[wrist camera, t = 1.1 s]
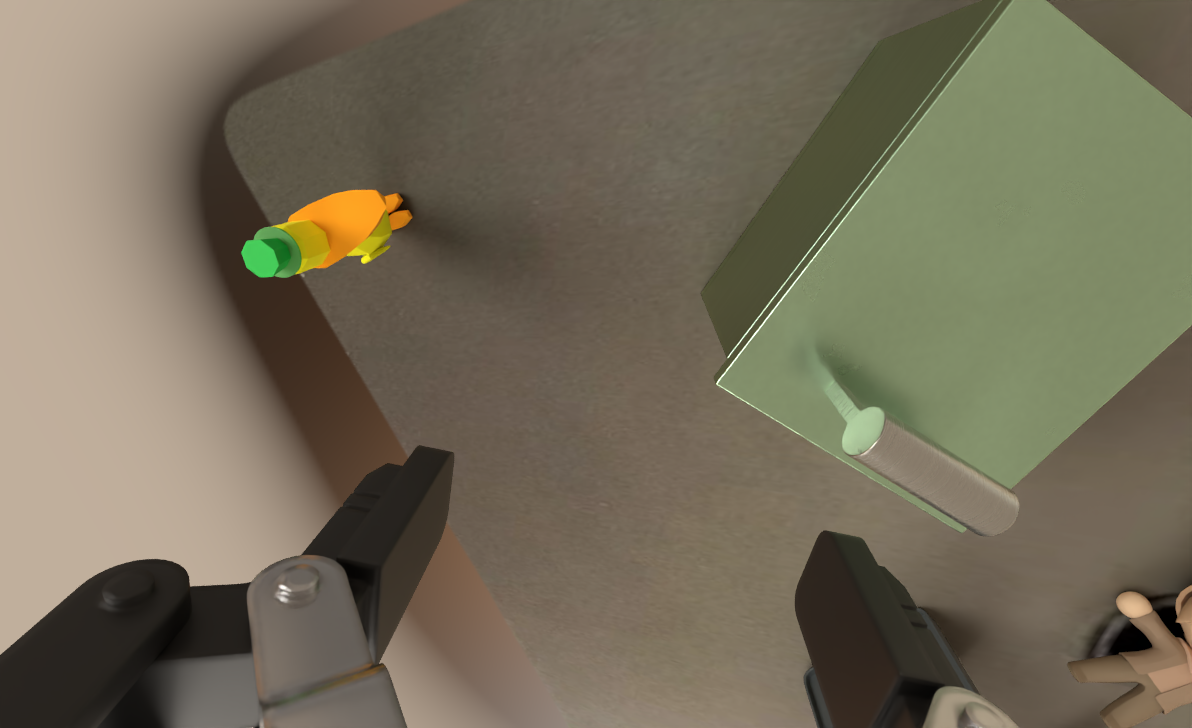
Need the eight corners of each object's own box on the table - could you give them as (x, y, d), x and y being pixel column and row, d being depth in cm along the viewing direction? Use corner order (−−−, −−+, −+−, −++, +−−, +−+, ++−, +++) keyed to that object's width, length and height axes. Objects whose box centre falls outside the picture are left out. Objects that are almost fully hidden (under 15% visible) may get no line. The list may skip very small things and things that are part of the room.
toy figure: (424, 155, 32) (314, 165, 21) (459, 212, 33) (371, 250, 22) (332, 212, 34) (185, 249, 23) (368, 264, 35) (243, 325, 24)
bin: (876, 405, 36) (968, 507, 26) (699, 293, 34) (726, 358, 24) (1076, 187, 31) (1288, 211, 21) (879, 39, 29) (1009, -12, 19)
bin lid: (952, 523, 26) (1033, 621, 21) (712, 377, 25) (734, 445, 19) (1290, 212, 21) (1520, 238, 15) (1010, -12, 19) (1161, -72, 13)
